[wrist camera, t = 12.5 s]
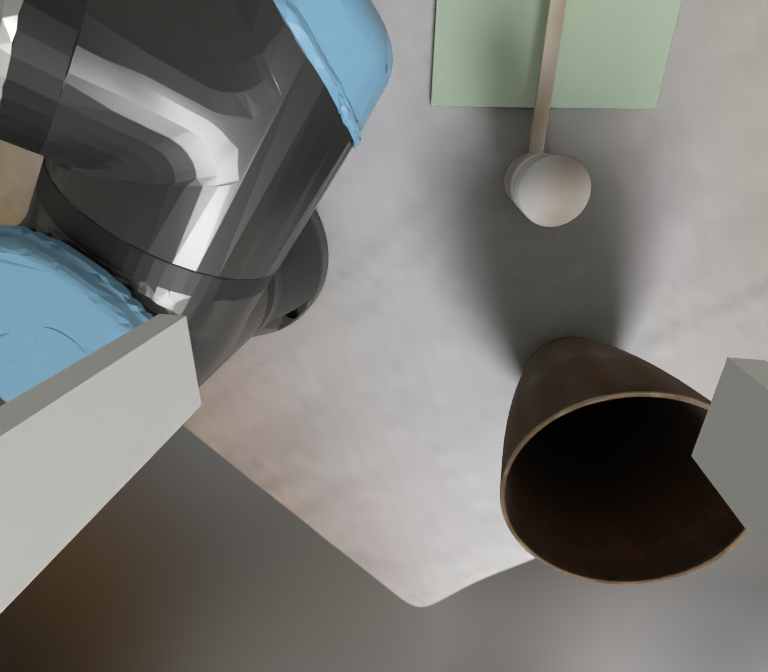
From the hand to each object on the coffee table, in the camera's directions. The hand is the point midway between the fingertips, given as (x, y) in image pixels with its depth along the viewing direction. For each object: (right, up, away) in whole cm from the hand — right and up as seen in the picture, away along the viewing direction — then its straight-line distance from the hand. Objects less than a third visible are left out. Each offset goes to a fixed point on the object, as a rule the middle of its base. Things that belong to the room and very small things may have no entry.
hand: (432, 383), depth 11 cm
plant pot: (+16, -2, +30) cm, 34 cm away
